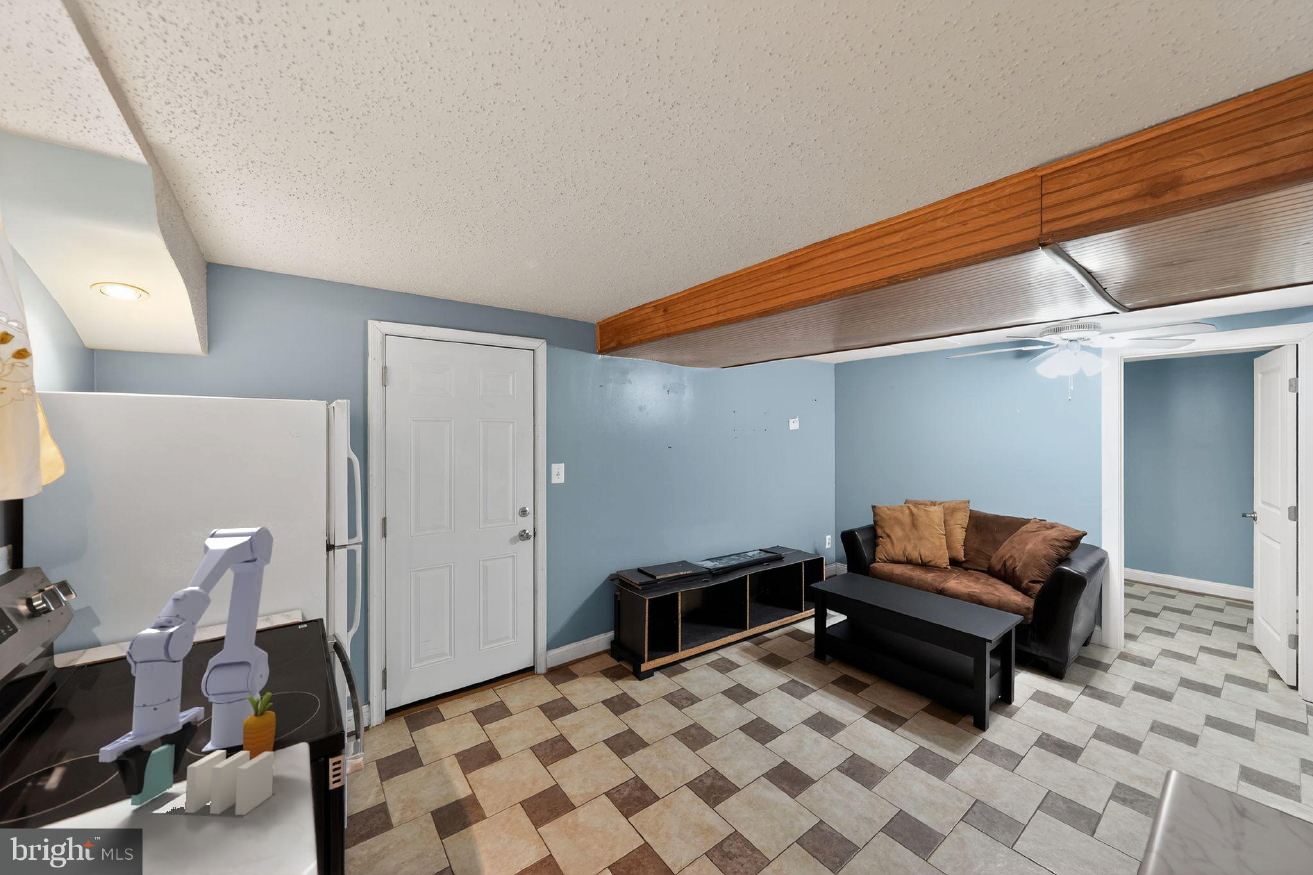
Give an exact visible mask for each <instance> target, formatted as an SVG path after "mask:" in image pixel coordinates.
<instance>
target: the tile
mask: <svg viewBox="0 0 1313 875" xmlns="http://www.w3.org/2000/svg"><path fill="white" fill-rule="evenodd" d="M151 751H152V753H151V755H150V757H149V760H148V763H147V766H146V770H145V778H144V787H143V790H142V793H140V794H139V795H131V797H130V798H131V799H130V800H131V802H130V803H131V804H130V806H138V807H140V806H141V805H144V804H145V803H148V802H149V801H150V800H153V799H155V798H156V797H157V796H159V795H161V794H163V793H164V792H167V791H168V790H170V789H172V788H173V787H174V786H173V784H174V775H173V768H174V752H175V744H166V745H164V746H162V745H161V746H160V747H157V748H156V749H154V750H151ZM167 789H168V790H167Z"/></svg>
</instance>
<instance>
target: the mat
mask: <svg viewBox="0 0 1313 875" xmlns="http://www.w3.org/2000/svg"><path fill="white" fill-rule="evenodd" d="M275 795H276V793H273V792H272V796H270V797H269V798H268V799H266V800H265V801H263V802H262V803H261V804H259V805H258V806H256V807H255V808H254V809H252V810H251V811H249V812H248V813H247V814H245V815H235V810H236V803H234V804H233V805H231V806H230V807H228V808H227V809H225V810H224V811H222V812H221V813H220V814H210V805H205V806H204V807H202V808H200V809H199V810H197V811H196V812H194V813H188V812H185V809H184V807H180V808H177V809H176V807H175V809H174V807H173V809H171V811H169V812H168V811H167V812H166V814H165V815H175V816H176V815H181V816H200V817H201V816H202V817H203V816H204V817H220V818H221V817H223V818H226V817H227V818H244V817H245V816H247V815H248V814H249V813H251V812H252V811H254V810H256V809H257V808H258V807H260V806H261V805H262V804H263V803H265V802H266V801H268V800H269V799H271V798H272V797H273V796H275Z"/></svg>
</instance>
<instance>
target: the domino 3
mask: <svg viewBox="0 0 1313 875" xmlns="http://www.w3.org/2000/svg"><path fill="white" fill-rule="evenodd" d="M274 753H275V752H274V751H272V752H266V751H265V752H263V753H262V754H260V755H258V756H257V757H255V758H254V759H252V760H250V761H249V762H247V763H245V764H244V765H242V766H240V767H239V768H237V788H236V810H235V815H245V814H247V813H248V812H249V811H251V810H252V809H254V808H255V807H256V806H258V805H259V804H261V803H262V802H263V801H265V800H266V799H268V798H269V797H270V796H272V793H273V782H274V781H273V779H274V778H273V777H274V775H273V774H274V773H273V772H274V757H275V756H274V755H275V754H274ZM272 797H273V796H272ZM269 799H270V798H269ZM269 799H268V800H269ZM266 801H267V800H266ZM266 801H265V802H266ZM262 804H263V803H262ZM262 804H261V805H262ZM259 806H260V805H259ZM259 806H258V807H259ZM255 809H256V808H255ZM255 809H254V810H255ZM252 811H253V810H252ZM252 811H251V812H252ZM248 814H249V813H248ZM248 814H247V815H248ZM245 816H246V815H245Z"/></svg>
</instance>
